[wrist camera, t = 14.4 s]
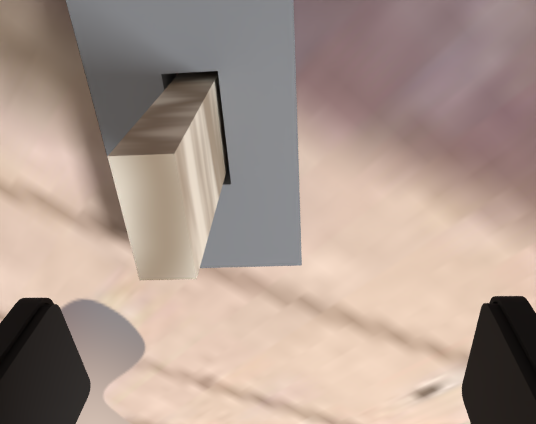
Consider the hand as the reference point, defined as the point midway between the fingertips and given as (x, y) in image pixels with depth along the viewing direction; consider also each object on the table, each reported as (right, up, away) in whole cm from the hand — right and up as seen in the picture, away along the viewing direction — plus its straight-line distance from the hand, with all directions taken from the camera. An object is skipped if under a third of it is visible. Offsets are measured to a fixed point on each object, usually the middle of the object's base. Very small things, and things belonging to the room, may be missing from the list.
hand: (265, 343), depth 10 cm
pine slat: (-5, +11, +25) cm, 28 cm away
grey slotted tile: (-5, +11, +25) cm, 28 cm away
